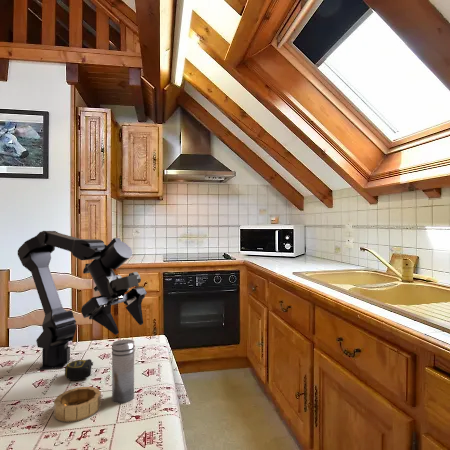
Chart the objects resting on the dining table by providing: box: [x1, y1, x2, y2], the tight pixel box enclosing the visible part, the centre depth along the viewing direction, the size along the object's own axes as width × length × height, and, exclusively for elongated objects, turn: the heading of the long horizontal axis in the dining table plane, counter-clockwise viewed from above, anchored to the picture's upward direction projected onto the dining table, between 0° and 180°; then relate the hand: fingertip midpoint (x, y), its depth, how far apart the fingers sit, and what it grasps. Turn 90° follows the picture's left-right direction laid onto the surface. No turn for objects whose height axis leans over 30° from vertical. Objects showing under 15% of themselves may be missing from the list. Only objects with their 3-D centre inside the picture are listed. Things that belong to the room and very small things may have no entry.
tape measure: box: [64, 358, 94, 381], centre depth 87 cm, size 7×7×4 cm
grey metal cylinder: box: [111, 339, 136, 405], centre depth 75 cm, size 5×5×13 cm
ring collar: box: [53, 386, 102, 423], centre depth 70 cm, size 9×9×3 cm
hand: (130, 328), depth 83 cm, fingers open, 9 cm apart
